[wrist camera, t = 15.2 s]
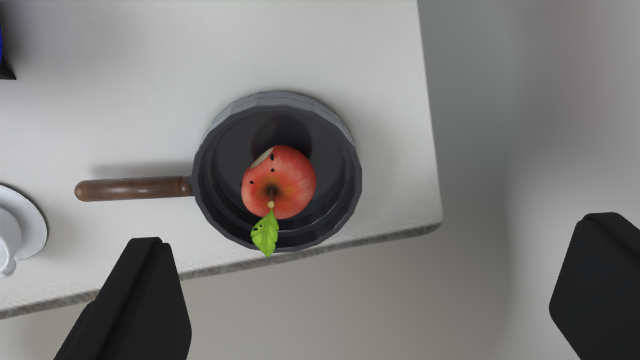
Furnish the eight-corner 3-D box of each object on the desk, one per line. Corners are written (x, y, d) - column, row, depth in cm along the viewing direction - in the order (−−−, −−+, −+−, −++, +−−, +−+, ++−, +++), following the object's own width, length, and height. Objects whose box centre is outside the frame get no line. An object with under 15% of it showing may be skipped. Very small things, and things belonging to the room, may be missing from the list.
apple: (240, 135, 39) (224, 186, 30) (310, 127, 39) (315, 175, 30) (254, 202, 43) (244, 265, 34) (318, 194, 43) (324, 255, 34)
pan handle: (202, 170, 39) (197, 181, 37) (205, 189, 40) (201, 199, 38) (77, 177, 38) (67, 187, 36) (84, 195, 39) (74, 206, 37)
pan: (356, 86, 38) (364, 100, 34) (354, 223, 46) (360, 248, 42) (189, 93, 38) (176, 108, 34) (214, 230, 45) (206, 256, 41)
